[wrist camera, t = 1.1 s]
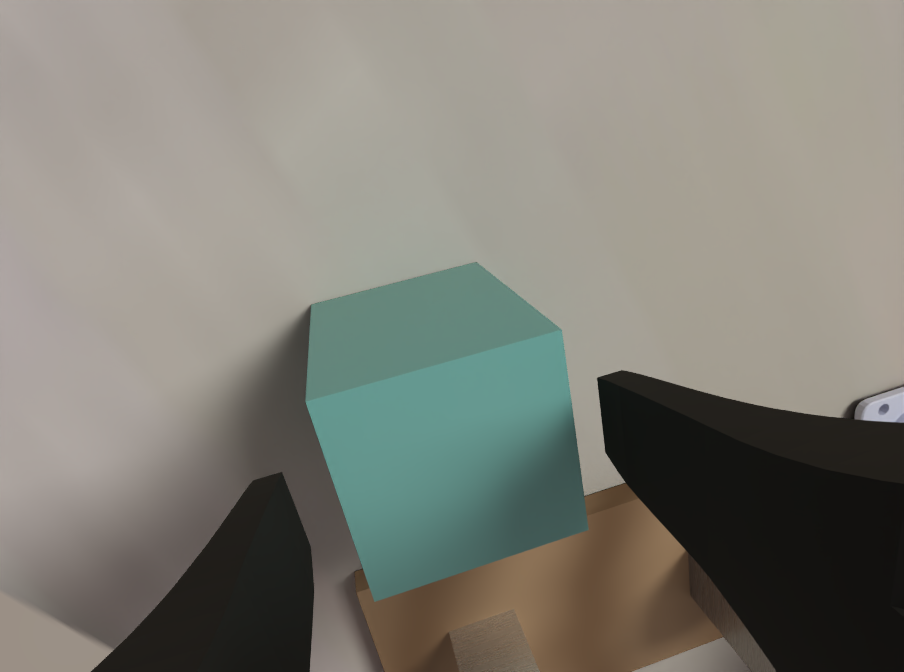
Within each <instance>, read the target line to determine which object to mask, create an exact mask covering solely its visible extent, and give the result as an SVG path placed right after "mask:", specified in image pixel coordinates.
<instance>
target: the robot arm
mask: <svg viewBox="0 0 904 672" xmlns="http://www.w3.org/2000/svg"><path fill="white" fill-rule="evenodd" d="M597 381H598V390H599V399H600V408H601V417H602V426H603V435H604V444H605V452H606V454H607V455H608V457H609V458H610V460H611V462H612V463H613V465H614V466H615V468H616V469H617V471H618V472H619V474H620V475H621V476H622V478H623V479H624V481H625V482H626V484H627V485H628V486H629V488H630V489H631V490H632V491H633V492H634V493H635V495H636V496H637V497H638V498H639V499H640V500H641V501H642V502H643V504H644V505H645V506H646V507H647V508H648V509H649V510H650V511H651V512H652V514H653V515H654V516H655V517H656V518H657V519H658V520H659V521H660V522H661V523H662V525H663V526H664V527H665V528H666V529H667V530H668V531H669V532H670V533H671V534H672V536H673V537H674V538H675V539H676V540H677V541H678V542H679V543H680V544H681V545H682V547H683V548H684V549H685V550H686V551H687V552H688V553H689V554H690V555H691V556H692V558H693V559H694V560H695V561H696V562H697V563H698V565H699V566H700V567H701V568H702V569H703V571H704V572H705V573H706V574H707V575H708V577H709V578H710V579H711V581H712V582H713V583H714V585H715V586H716V587H717V589H718V590H719V591H720V593H721V594H722V595H723V597H724V598H725V599H726V601H727V602H728V604H729V605H730V606H731V608H732V609H733V610H734V612H735V613H736V614H737V616H738V617H739V619H740V620H741V621H742V623H743V624H744V626H745V627H746V629H747V630H748V631H749V633H750V634H751V636H752V637H753V638H754V640H755V641H756V643H757V644H758V646H759V647H760V648H761V650H762V651H763V653H764V654H765V656H766V657H767V658H768V660H769V661H770V663H771V664H772V666H773V667H774V669H775V670H776V672H904V387H901V388H898V389H895V390H892V391H889V392H885V393H882V394H879V395H876V396H873V397H870V398H867V399H865V400H863V401H861V402H860V403H859V404H858V405H857V407H856V410H855V417H854V419H846V418H836V417H827V416H818V415H811V414H804V413H798V412H792V411H786V410H779V409H773V408H768V407H763V406H758V405H753V404H749V403H745V402H740V401H736V400H732V399H727V398H723V397H719V396H716V395H712V394H708V393H704V392H701V391H697V390H693V389H690V388H686V387H683V386H679V385H676V384H672V383H669V382H666V381H662V380H659V379H655V378H652V377H648V376H644V375H641V374H637V373H633V372H628V371H623V370H621V371H618V372H614V373H611V374H608V375H604V376H601V377H598V378H597ZM313 602H314V583H313V568H312V556H311V546H310V544H309V541H308V538H307V536H306V533H305V531H304V528H303V526H302V523H301V520H300V518H299V515H298V513H297V510H296V507H295V505H294V502H293V500H292V497H291V494H290V492H289V489H288V487H287V484H286V481H285V479H284V476H283V474H282V472H280V473H277V474H274V475H270V476H267V477H264V478H260V479H257V480H254V481H252V483H251V484H250V485H249V486H248V488H247V489H246V490H245V492H244V493H243V495H242V496H241V498H240V499H239V500H238V502H237V503H236V505H235V506H234V508H233V509H232V511H231V512H230V513H229V515H228V516H227V518H226V519H225V520H224V522H223V523H222V525H221V526H220V527H219V529H218V530H217V532H216V533H215V534H214V536H213V537H212V539H211V540H210V541H209V543H208V544H207V545H206V547H205V548H204V549H203V551H202V552H201V553H200V554H199V556H198V557H197V558H196V559H195V561H194V562H193V563H192V564H191V566H190V567H189V568H188V569H187V571H186V572H185V573H184V575H183V576H182V577H181V578H180V580H179V581H178V582H177V583H176V585H175V586H174V587H173V588H172V589H171V591H170V592H169V593H168V594H167V595H166V596H165V598H164V599H163V600H162V601H161V602H160V603H159V604H158V605H157V607H156V608H155V609H154V610H153V611H152V612H151V613H150V614H149V615H148V616H147V617H146V618H145V619H144V620H143V621H142V623H141V624H140V625H139V626H138V627H137V628H136V629H135V630H134V631H133V632H132V633H131V634H130V635H129V636H128V637H127V638H126V639H125V640H124V641H123V642H122V643H121V644H120V645H119V646H118V647H117V648H116V649H115V650H114V651H113V652H111V653H110V654H109V655H108V656H107V657H106V658H105V659H104V660H103V661H102V662H101V663H100V664H99V665H98V666H97V667H95V668H94V669H93V670H92V671H91V672H310V655H311V639H312V621H313Z"/></svg>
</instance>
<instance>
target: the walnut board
mask: <svg viewBox="0 0 904 672" xmlns="http://www.w3.org/2000/svg"><path fill="white" fill-rule="evenodd" d="M584 499H585V506H586V514H587V521H588V528H589V530H587V531H584V532H581V533H578V534H575V535H572V536H569V537H566V538H563V539H560V540H557V541H554V542H551V543H548V544H545V545H542V546H540V547H537V548H534V549H531V550H528V551H525V552H522V553H519V554H516V555H513V556H510V557H507V558H504V559H501V560H498V561H495V562H492V563H489V564H486V565H483V566H480V567H477V568H474V569H471V570H468V571H465V572H462V573H459V574H456V575H453V576H450V577H447V578H444V579H441V580H438V581H435V582H432V583H430V584H427V585H424V586H421V587H418V588H415V589H412V590H409V591H406V592H403V593H400V594H397V595H394V596H391V597H388V598H385V599H382V600H379V601H376V602H374V599H373V596H372V593H371V591H370V588H369V585H368V582H367V579H366V576H365V573H364V570H363V569H362V570H358V571H355V584H356V594H357V596H358V599H359V602H360V605H361V608H362V610H363V613H364V616H365V619H366V621H367V624H368V627H369V630H370V633H371V635H372V638H373V641H374V644H375V647H376V649H377V652H378V655H379V658H380V660H381V663H382V666H383V669H384V672H459V669H458V665H457V661H456V657H455V653H454V650H453V646H452V642H451V638H450V634H449V631H452V630H455V629H458V628H460V627H463V626H466V625H469V624H472V623H475V622H478V621H480V620H483V619H486V618H489V617H492V616H495V615H498V614H500V613H503V612H506V611H509V610H512V609H514V610H515V613H516V615H517V618H518V620H519V622H520V625H521V627H522V630H523V632H524V635H525V637H526V640H527V642H528V644H529V647H530V649H531V652H532V654H533V657H534V659H535V661H536V664H537V666H538V669H539V671H540V672H632V671H634V670H637V669H640V668H642V667H645V666H648V665H650V664H653V663H656V662H658V661H661V660H664V659H666V658H669V657H671V656H674V655H677V654H679V653H682V652H685V651H687V650H690V649H693V648H695V647H698V646H701V645H703V644H706V643H708V642H711V641H714V640H716V639H719V638H722V637H723V635H722V634H721V633H720V632H719V630H718V629H717V628H716V627H715V626H714V624H713V623H712V622H711V621H710V619H709V618H708V617H707V616H706V614H705V613H704V612H703V611H702V609H701V608H700V607H699V606H698V604H697V603H696V602H695V601H694V600H693V598H692V597H691V596H690V583H689V562H688V552H687V551H686V550H685V549H684V548H683V547H682V545H681V544H680V543H679V542H678V541H677V540H676V539H675V538H674V537H673V536H672V534H671V533H670V532H669V531H668V530H667V529H666V528H665V527H664V526H663V525H662V523H661V522H660V521H659V520H658V519H657V518H656V517H655V516H654V515H653V514H652V512H651V511H650V510H649V509H648V508H647V507H646V506H645V505H644V504H643V502H642V501H641V500H640V499H639V498H638V497H637V496H636V495H635V493H634V492H633V491H632V490H631V489H630V488H629V486H628V485H627V484H626V483H624V484H621V485H618V486H615V487H612V488H609V489H606V490H603V491H600V492H597V493H594V494H591V495H588V496H585V497H584Z"/></svg>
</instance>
